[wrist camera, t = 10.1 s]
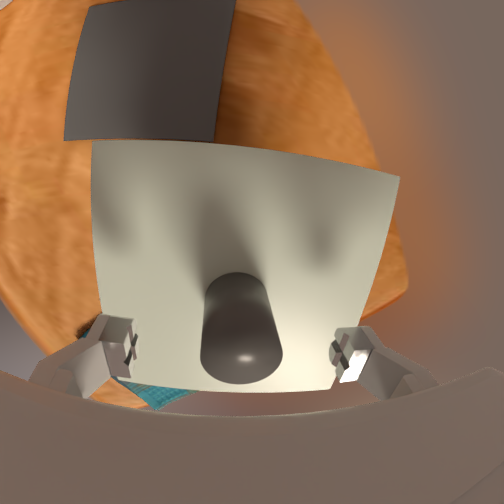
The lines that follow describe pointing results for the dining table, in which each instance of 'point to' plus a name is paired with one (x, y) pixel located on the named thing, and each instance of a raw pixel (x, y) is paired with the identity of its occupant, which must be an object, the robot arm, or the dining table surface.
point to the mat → (149, 70)
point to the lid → (234, 259)
